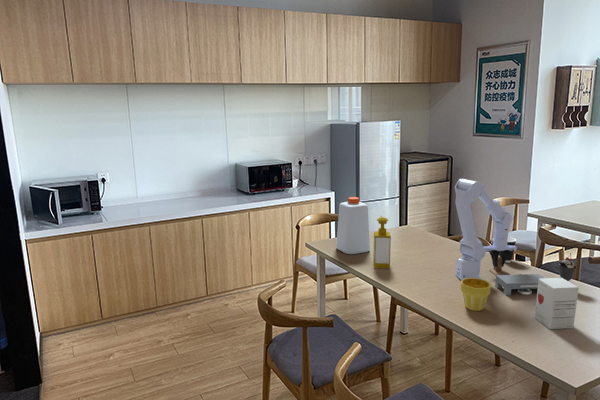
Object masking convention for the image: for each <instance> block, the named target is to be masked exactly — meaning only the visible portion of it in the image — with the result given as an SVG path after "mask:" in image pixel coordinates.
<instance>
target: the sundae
mask: <svg viewBox="0 0 600 400" xmlns="http://www.w3.org/2000/svg"><path fill="white" fill-rule="evenodd" d="M569 256H572V252H571V253H569ZM569 256H567V257H565V258H564V259H563V260H562V261H560V262H559V263H558V264H557V265H558V267H559V276H560V277H559V278H563V279H565V280H567V281H569V282H570V281H571V280H572V278H573V275H574V273H575V272H574V271H575V270H576V269H577V268H578V266H577V265H575V263H574V261H573V258H570V257H569Z"/></svg>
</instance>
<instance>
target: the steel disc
mask: <svg viewBox="0 0 600 400" xmlns="http://www.w3.org/2000/svg"><path fill="white" fill-rule="evenodd" d="M517 293H518V294H521V295H524V296H530V295H532V293H533V291H532V289H518V290H517Z"/></svg>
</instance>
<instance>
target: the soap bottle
mask: <svg viewBox="0 0 600 400" xmlns="http://www.w3.org/2000/svg"><path fill="white" fill-rule="evenodd" d="M376 221H378V224H379V225H380V227H378V231H373V257H372V259H373V263H374V264H373V263H372V264H373V269H390V267H391V242H392V241H391V239H392V236H391V233H390V231H387V228H386V227H385V225H387V224H388V222H389V219H388V218H387V217H384V216H382V215H380V217H379V218H377V219H376Z"/></svg>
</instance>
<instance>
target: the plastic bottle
mask: <svg viewBox="0 0 600 400" xmlns="http://www.w3.org/2000/svg"><path fill="white" fill-rule="evenodd" d="M337 220H338V221H337V232H336V242H335V243H336V244H335V247H336V250H338V251H340V252H343V253H344V254H347V255H359V254H361V253H362V254H363V253H364V254H365V253H368V252H369V251H370V249H371V247H370V246H371V244H370V243H371V242H370V227H369V226H370V225H369V206H368V204H366V203H365V202H362V201H360V198H359V197H357V196H351V197H348V198H347V201H344V202H340V203H339V206H338V219H337Z"/></svg>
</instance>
